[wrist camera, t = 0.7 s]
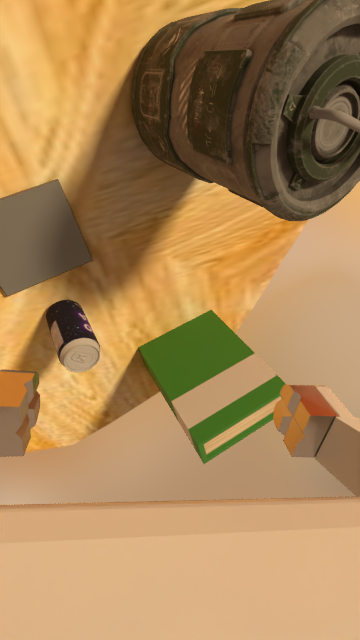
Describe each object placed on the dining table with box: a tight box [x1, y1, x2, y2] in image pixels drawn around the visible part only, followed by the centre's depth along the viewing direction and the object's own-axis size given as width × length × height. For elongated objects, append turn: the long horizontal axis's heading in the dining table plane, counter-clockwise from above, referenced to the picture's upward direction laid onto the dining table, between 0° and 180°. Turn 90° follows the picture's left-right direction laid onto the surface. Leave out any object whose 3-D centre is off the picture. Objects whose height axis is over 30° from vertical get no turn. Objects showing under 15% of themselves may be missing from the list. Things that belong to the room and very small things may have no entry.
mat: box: [0, 179, 92, 296], centre depth 43 cm, size 12×13×1 cm
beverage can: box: [46, 300, 100, 372], centre depth 47 cm, size 6×6×12 cm
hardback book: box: [138, 310, 285, 464], centre depth 61 cm, size 18×7×24 cm, turn 101°
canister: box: [132, 0, 360, 221], centre depth 33 cm, size 16×16×28 cm
